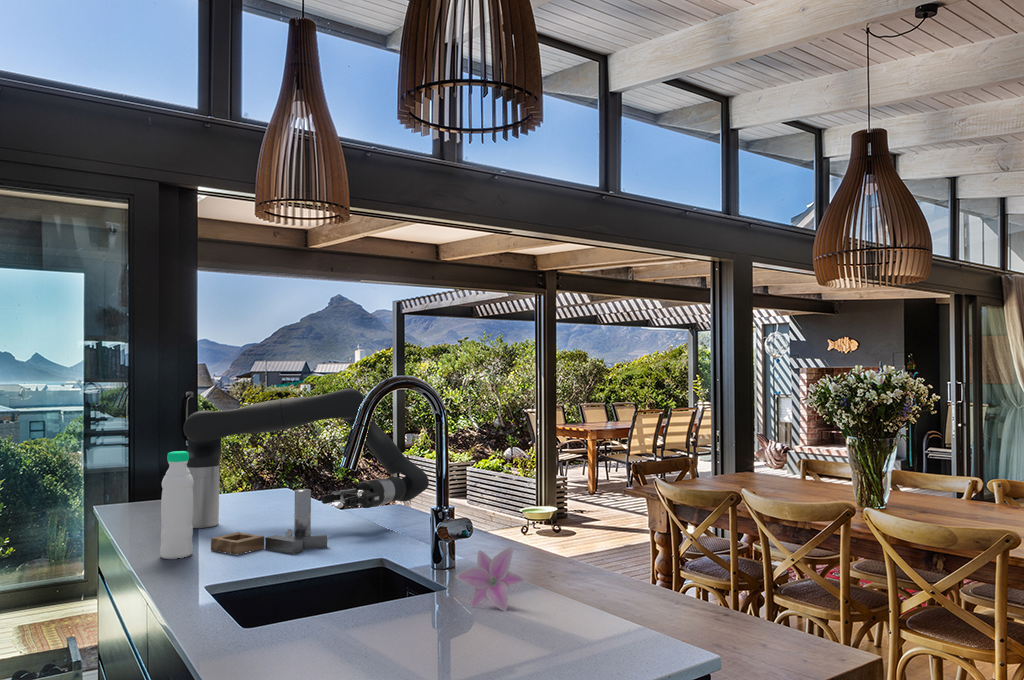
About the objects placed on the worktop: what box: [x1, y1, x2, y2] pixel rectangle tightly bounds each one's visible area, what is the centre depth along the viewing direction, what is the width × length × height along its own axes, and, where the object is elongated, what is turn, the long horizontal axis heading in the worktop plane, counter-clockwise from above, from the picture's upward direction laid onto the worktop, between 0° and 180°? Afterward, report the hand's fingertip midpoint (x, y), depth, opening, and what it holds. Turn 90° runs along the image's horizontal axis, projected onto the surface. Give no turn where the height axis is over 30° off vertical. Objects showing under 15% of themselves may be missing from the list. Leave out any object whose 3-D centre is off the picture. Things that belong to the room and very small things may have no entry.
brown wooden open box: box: [210, 531, 265, 555], centre depth 181 cm, size 10×8×3 cm
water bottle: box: [159, 450, 194, 560], centre depth 175 cm, size 7×7×25 cm
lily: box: [454, 546, 525, 611], centre depth 138 cm, size 12×12×10 cm
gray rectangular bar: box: [293, 488, 312, 537], centre depth 185 cm, size 4×4×14 cm
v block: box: [264, 529, 328, 555], centre depth 182 cm, size 14×10×3 cm
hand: (334, 501), depth 194 cm, fingers open, 8 cm apart
